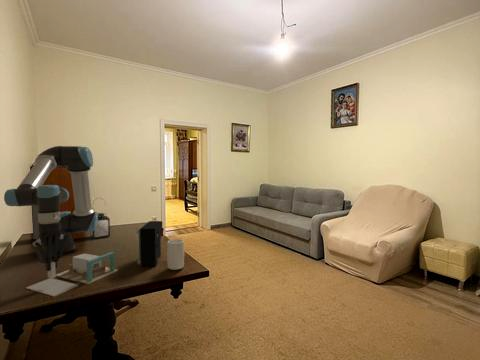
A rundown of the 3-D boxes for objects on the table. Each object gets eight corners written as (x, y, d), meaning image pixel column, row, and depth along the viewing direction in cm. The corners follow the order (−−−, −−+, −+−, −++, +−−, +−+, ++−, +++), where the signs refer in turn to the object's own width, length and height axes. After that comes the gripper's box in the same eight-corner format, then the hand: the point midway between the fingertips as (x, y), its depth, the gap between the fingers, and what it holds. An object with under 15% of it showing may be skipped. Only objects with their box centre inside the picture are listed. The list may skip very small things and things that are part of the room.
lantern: (110, 236, 189) (109, 198, 188) (92, 238, 183) (91, 199, 181) (107, 233, 198) (106, 196, 197) (90, 235, 191) (89, 197, 190)
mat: (25, 289, 109) (25, 287, 109) (51, 279, 118) (50, 277, 118) (54, 297, 102) (53, 295, 102) (78, 286, 111) (78, 284, 111)
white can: (175, 273, 125) (175, 244, 124) (163, 269, 129) (163, 241, 128) (187, 267, 132) (187, 240, 131) (176, 264, 136) (175, 237, 135)
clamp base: (54, 276, 121) (54, 267, 121) (86, 264, 136) (86, 256, 136) (87, 284, 113) (87, 275, 113) (117, 270, 128) (117, 262, 128)
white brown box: (71, 271, 124) (71, 256, 124) (83, 267, 130) (83, 253, 130) (91, 275, 119) (91, 260, 119) (102, 271, 125) (102, 256, 125)
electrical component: (146, 255, 150) (145, 221, 148) (164, 254, 151) (163, 220, 149) (136, 267, 132) (135, 228, 131) (157, 266, 133) (156, 228, 132)
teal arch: (87, 280, 115) (86, 261, 115) (111, 269, 127) (111, 251, 127) (90, 281, 114) (89, 261, 114) (114, 269, 127) (114, 252, 126)
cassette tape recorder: (52, 239, 180) (50, 204, 178) (41, 241, 175) (40, 205, 173) (43, 236, 187) (42, 202, 186) (33, 238, 182) (31, 203, 181)
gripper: (38, 226, 101) (40, 285, 102) (71, 219, 113) (72, 272, 114) (26, 224, 104) (28, 282, 105) (59, 218, 116) (61, 270, 117)
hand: (51, 277), depth 109 cm, fingers closed
